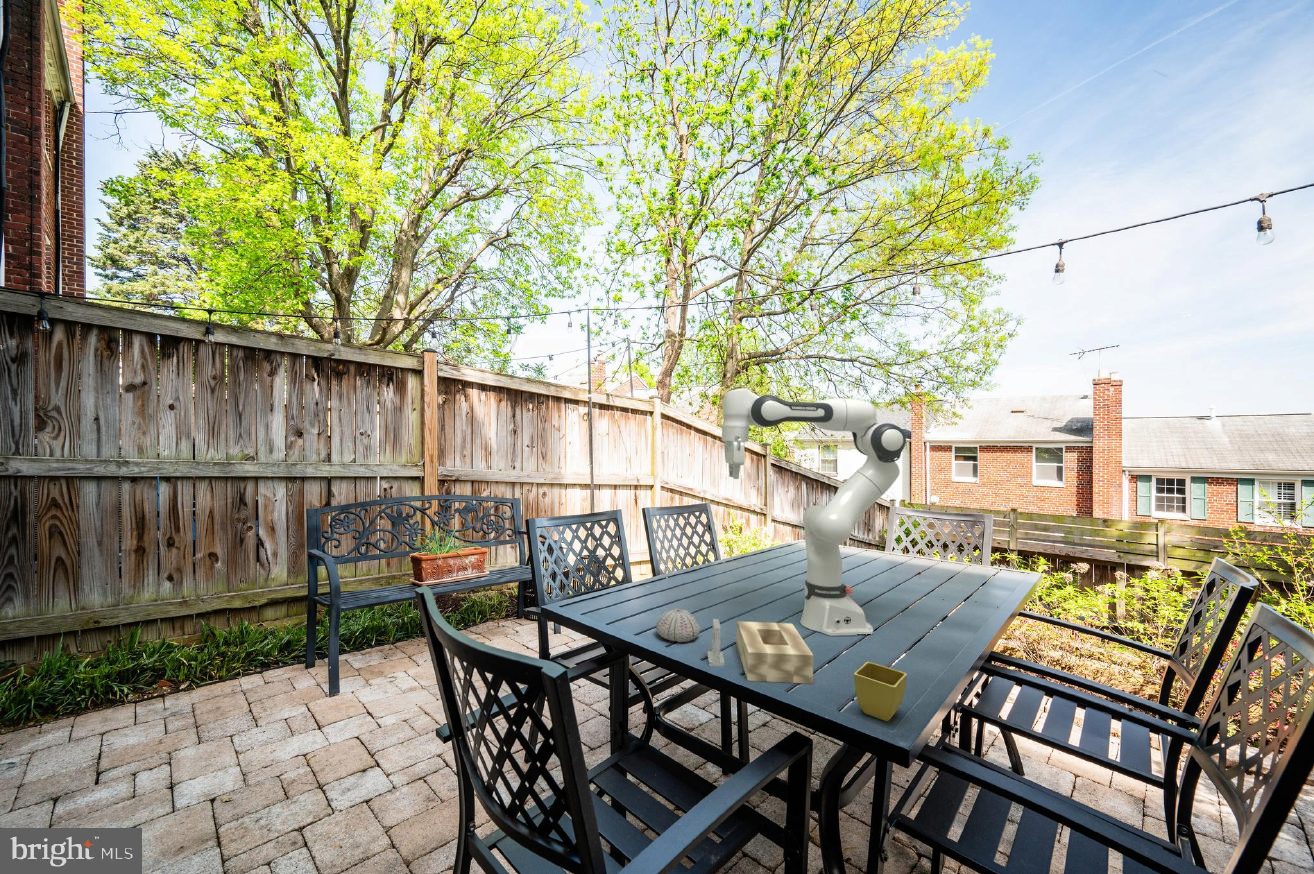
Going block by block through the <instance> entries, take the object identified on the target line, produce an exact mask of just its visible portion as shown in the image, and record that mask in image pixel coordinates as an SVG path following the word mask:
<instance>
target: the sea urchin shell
mask: <svg viewBox="0 0 1314 874" xmlns="http://www.w3.org/2000/svg"><path fill="white" fill-rule="evenodd" d="M655 630H656V632H657V633H658V635H659V636H660V637H661V638H663V639H665V640H669V641H671V642H677V643H682V642H683V643H688V642H691V641H693V640H695V639H697V638H698V637H699V635H700V631H701V628H700V625H699V622H698V621H697V619H696V618H695V616H694V615H693V614H692V613H690V611H688V610H686V609H680V608H673V609H671V610H669V611H666V612H664V613H663V614H662V615H661V616H660V617H659V619H658V620H657V622H656V623H655Z"/></svg>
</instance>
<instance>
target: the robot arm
mask: <svg viewBox="0 0 1314 874" xmlns="http://www.w3.org/2000/svg"><path fill="white" fill-rule="evenodd" d="M722 401H723V402H722V418H723V423H722V426H721V441H722V442H723V443H724V444H723V445H724V448H723V449H724V460H725V463H727V464H728V477H730V478H733V480H739V479H740V471H741V466H743V465H744V464H745V443H748V442H749V439H750V438H749V437H750V436H749V434H750V426H754V427H756V428H771V427H775V426H777V425H780V424H782V423H787V422H794V423H795V422H796V423H811V424H814V425H816V427H818V429H821V430H824V431H825V430H826V431H831V432H851V435H852V438H853V445H854V448H856V450H857V451H858V453H860V454H861V455H864V456H866V459H865V462H864V464H862V465H861V467H859V468H858V469H857V470H856V471H854V473H853V474H852V475H851V476H849V477H848V478H847V479H846V481H845V482H843V483H842V484H841V485H840V486H839V487H838V488H837V491H836V492H835V495H834V496H833V497H832V498H831V500H830V502H829V503H828V504H826V505H823V504H816V505H812V506H810V507H808V508H807V509H806V510H805V511H804V512H803V515H802V523H803V528H804V529H803V530H804V531H803V532H804V539H805V549H806V550H805V551H806V579H805V581H804V591H803V592H804V597H805V599H804V606H803V611H802V615H801V618H800V620H799V622H800V624H801V625H802V626H803V627H804V628H806V629H809V630H811V631H815V632H819V633H822V634H825V635H827V636H833V637H838V636H839V637H840V636H858V635H857V634H866V636H867V634H871V635H873V634H874V628H873V626H872V625H871V623H869V622H868V621H867V620H866V615H865V611H864V609H863V608H862V607H861V606H859V604H858V603H856V602H855V601H854V599H852V598H851V597H849V595H852V594H853V591H854V590H853V589H852V588H851V587H849V586H847V585H845V584H844V583H843V582H842V581H843V580H842V579H843V558H842V555H841V551H840V546H839V545H841V544H844V543H845V542H847V541H848V540H849V539H850V537H851V535H852V532H853V529H854V528H855V526H856V525H857V523H858V522H859V520H860V519H861V518H862V516H863V515H864V514H865V513H866V512H867V510H869V509H870V508H871V507H872V506H873V505H874V504H875V503H876V502H877V501H878V500H879V499H880V498H881V497H882V496H884V494H885V493H886V492H887V491H888V490H889V489H890V488H891V487H892V485H893V484H894V483H895V482H896V480H897V479H898V477H899V476H900V470H901V469H900V467H899V465H898V463H897V461H898V460H899V459H900V458H901V455H902V452H903V451H904V448H905V446H906V443H907V437H906V436H907V435H906V433H905V431H904V430H903V429H902V428H901V427H899V426H898V425H896V424H893V423H890V422H889V423H888V422H887V423H886V422H885V423H881V422H879V421H878V418H877V409H876V407H875V406H874V404H873V403H872V402H870V401H868V400H863V399H858V398H857V399H856V398H849V397H846V398H845V397H832V398H831V397H830V398H825V399H819V400H817V401H812V402H810V401H809V402H808V401H807V402H806V401H789V400H787V401H786V400H784V399H781V398H780V397H777V396H776V395H772V394H764V395H761V396H760V395H758V394H755V393H753V392H752V391H751V390H749V388H747V387H744V386H743V387H742V386H741V387H735V388H731V389H729V390H727V391H726V392H725V393H724V396H723V400H722Z"/></svg>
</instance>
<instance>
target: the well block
mask: <svg viewBox="0 0 1314 874" xmlns="http://www.w3.org/2000/svg"><path fill="white" fill-rule="evenodd" d="M735 639H736V642H735V643H736V645H735V646H736V649H737V652H738V654H739V657H740V661H741V663H742V666H743V667H742V668H743V671H744V673H745V676H746V679H747V681H749V682H750V681H751V682H768V683H769V682H770V683H789V684H791V683H792V684H812V685H813V683H814V681H813V680H814V654H813V652H812V651H811V650H810V648H809V646H808V645H807V644H806V643H807V642H805V641H804V639H803V638H802V636H801V634H800V633H799V631H798V630H797V629H796V627H795V626H794V624H793V623H787V622H786V623H783V622H781V623H780V622H766V621H765V622H763V621H762V622H761V621H740V620H738V621H736V638H735Z"/></svg>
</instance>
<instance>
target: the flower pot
mask: <svg viewBox="0 0 1314 874" xmlns="http://www.w3.org/2000/svg"><path fill="white" fill-rule="evenodd" d="M907 674H908V673H906V672H903V671H900V670H897V669H893V668H890V667H886V666H884V665H881V664H877V663H874V662H871V661H866V662H865V663H864V664H863V665H861V667H859V669H857V670H856V671H855V672H854V673H853V678H854V687H855V695H856V699H857V703H858V704H859V706H860V708H861V710H862V712H863V713H864V714H866V715H869V716H871V717H874V718H877V719H879V720H882V721H885V722H889V721H890V720H891V719H892V717H893V716H894V715H895V714H896V712H897V711H898V710H899V707H900V706H901V703H902V702H903V699H904V695H905V690H906V689H905V688H906V683H907V676H908V675H907Z"/></svg>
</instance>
